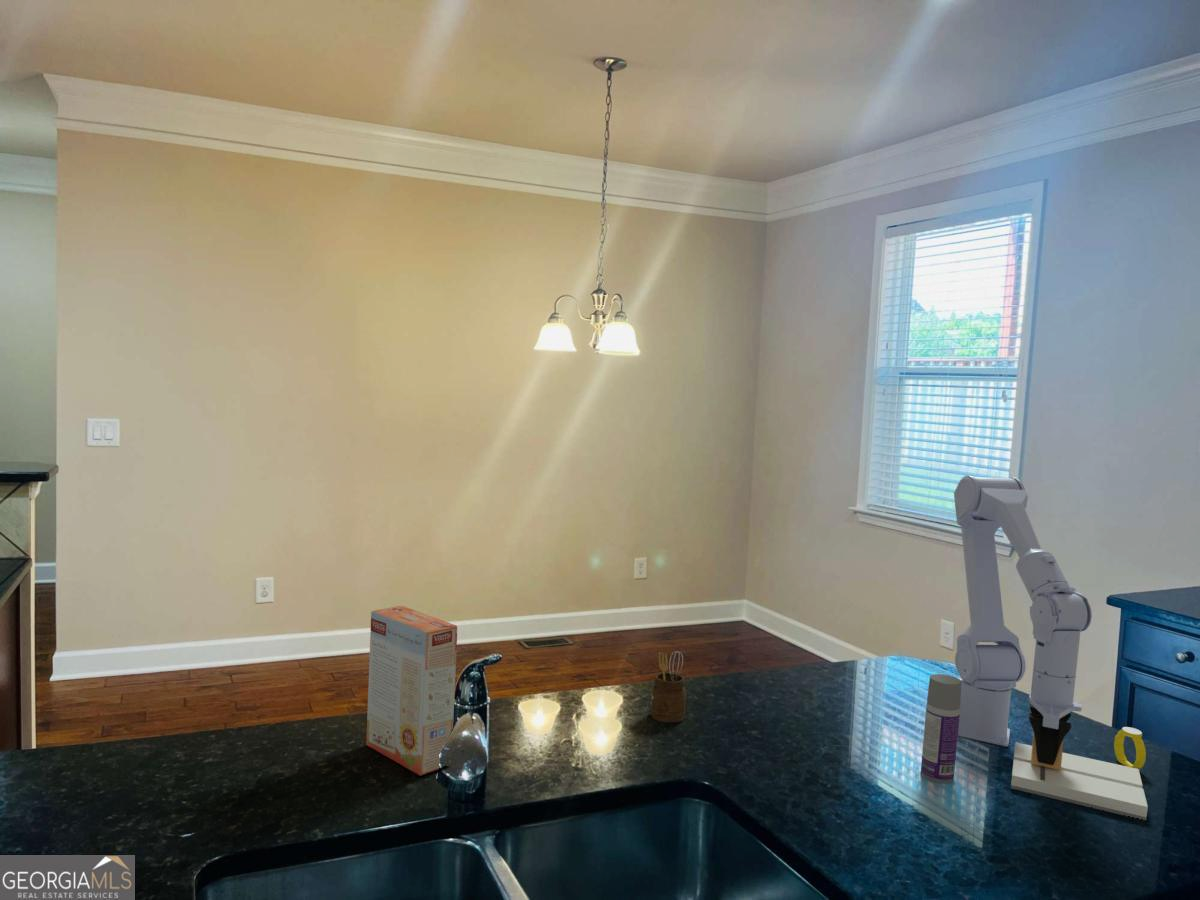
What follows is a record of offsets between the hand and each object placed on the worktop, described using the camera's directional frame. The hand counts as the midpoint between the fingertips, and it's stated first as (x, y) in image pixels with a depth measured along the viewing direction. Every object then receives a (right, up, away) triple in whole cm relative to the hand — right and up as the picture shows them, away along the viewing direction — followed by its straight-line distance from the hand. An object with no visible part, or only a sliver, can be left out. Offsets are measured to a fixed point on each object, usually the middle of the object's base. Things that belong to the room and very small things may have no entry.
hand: (1045, 758), depth 131 cm
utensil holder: (-56, +1, +16) cm, 59 cm away
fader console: (+4, -3, -2) cm, 5 cm away
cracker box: (-96, +2, -4) cm, 96 cm away
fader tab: (0, -3, 0) cm, 3 cm away
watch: (+16, -4, +6) cm, 18 cm away
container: (-17, -2, -1) cm, 17 cm away
